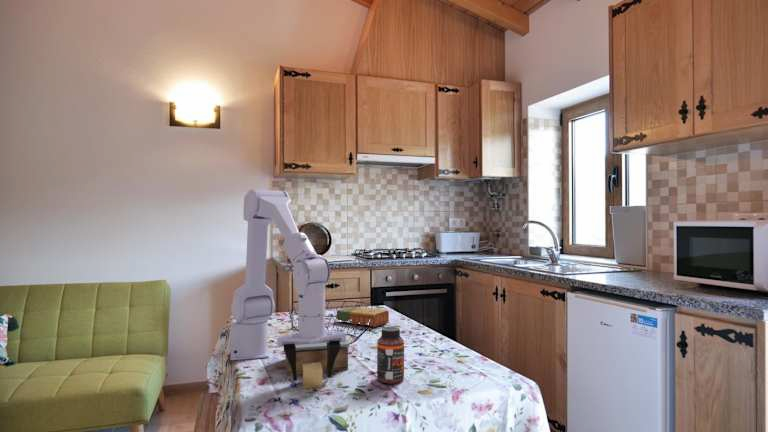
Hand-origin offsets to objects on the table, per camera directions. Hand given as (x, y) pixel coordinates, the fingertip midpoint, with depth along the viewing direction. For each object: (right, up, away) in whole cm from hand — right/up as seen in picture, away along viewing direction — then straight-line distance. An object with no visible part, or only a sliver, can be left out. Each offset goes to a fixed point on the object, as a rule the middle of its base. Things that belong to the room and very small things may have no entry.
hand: (312, 377), depth 97 cm
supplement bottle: (+17, -2, +2) cm, 17 cm away
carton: (+14, -4, +51) cm, 53 cm away
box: (-1, -1, +13) cm, 13 cm away
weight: (0, -2, 0) cm, 2 cm away
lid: (-1, +4, +13) cm, 14 cm away
